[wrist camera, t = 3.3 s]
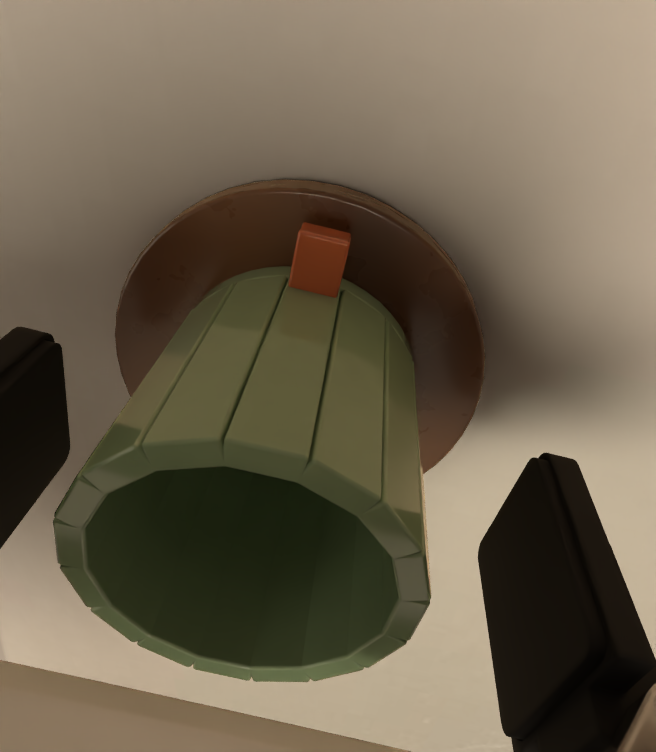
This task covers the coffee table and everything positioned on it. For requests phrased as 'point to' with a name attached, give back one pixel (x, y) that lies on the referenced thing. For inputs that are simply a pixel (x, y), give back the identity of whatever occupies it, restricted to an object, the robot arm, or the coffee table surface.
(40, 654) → the coffee table surface
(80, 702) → the robot arm
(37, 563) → the coffee table surface
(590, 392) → the coffee table surface
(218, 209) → the brown dish
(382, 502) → the green grooved mug
